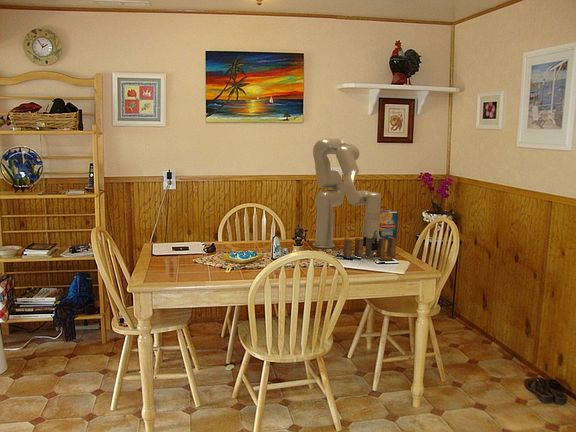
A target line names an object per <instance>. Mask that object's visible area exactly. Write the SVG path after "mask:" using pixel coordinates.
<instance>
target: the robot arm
mask: <svg viewBox="0 0 576 432" xmlns="http://www.w3.org/2000/svg"><path fill="white" fill-rule="evenodd" d="M328 155H335V157H336V160H337V162H338V164H339V166H340V169H341V171H342V174H343V178H342V175H341V173H340V172H339V171H337V170H333V169H331V160H330V159H329V157H328ZM312 156H313V159H314V160H313V161H314V168H315V176H316V177H315V178H316V184H317V186H318V187H319V188H322V189H324V190H321V191H319V192H318V193H317V194H316V196H315V205H316V221H315V223H316V225H315V237H314V239H315V241H313V242H312V246H313V247H315V248H319V249H333V248H335V243H333V237H334V236H333V235H334V220H335V218H334V217H335V214H334V213H335V212H334V211H333V207H339V206H341V205H342V204H343V203H344V201H345V199H344V198H345V197H346V200H347V202H348V204H350V205H351V206H362V205H365V209H364V211H365V213H364V219H363V223H362V224H363V225H362V231H361V232H362V233H361V235H362V240H364V241H363V247H366V238H369V239H371V238H372V242H373V243H372V248H371V250H372V251H374V252H376V251H377V248H378V241H379V239H380V235H379V216H380V210H381V199H382V195H381V193H379V192H375V191H369V190H357V188H356V186H355V177H356V176H357V175H358V174H359V172H360V169H359V167H358V164H357V162H356V161H357V160H358V159H359V157H360V151H359V149H358V147H356V146H355V145H354V144H351V143H349V142H347V141H345V140H343V139H341V138H340V139H339V138H322V139H319V140H318V141H316V143H314V146H313V148H312ZM326 188H327V189H326ZM325 189H326V190H325ZM374 239H375V240H374Z"/></svg>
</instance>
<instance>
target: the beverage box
mask: <svg viewBox="0 0 576 432" xmlns="http://www.w3.org/2000/svg"><path fill="white" fill-rule="evenodd" d="M398 220H399V212H398V211H395V210H385V209H384V210H381V209H380V216H379V235H380V237H381V238H384V239H386V241H385V252H386V253H387V244H388V237H393V238H395V239H396V240H397V233H398V232H397V231H398ZM374 240H375V239H374Z"/></svg>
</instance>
